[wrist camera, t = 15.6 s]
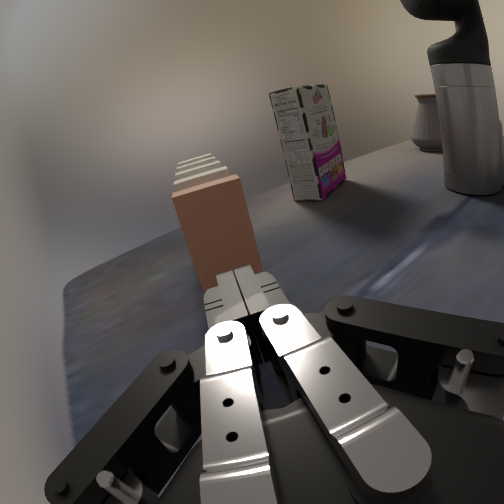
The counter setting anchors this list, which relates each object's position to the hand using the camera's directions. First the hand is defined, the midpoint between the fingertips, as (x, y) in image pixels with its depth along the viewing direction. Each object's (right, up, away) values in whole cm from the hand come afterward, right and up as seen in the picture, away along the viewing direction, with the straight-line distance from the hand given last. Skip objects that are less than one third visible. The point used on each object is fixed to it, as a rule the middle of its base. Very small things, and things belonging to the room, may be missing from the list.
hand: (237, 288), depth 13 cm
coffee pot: (+47, +27, +49) cm, 74 cm away
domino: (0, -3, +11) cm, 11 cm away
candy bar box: (+12, +11, +34) cm, 38 cm away
